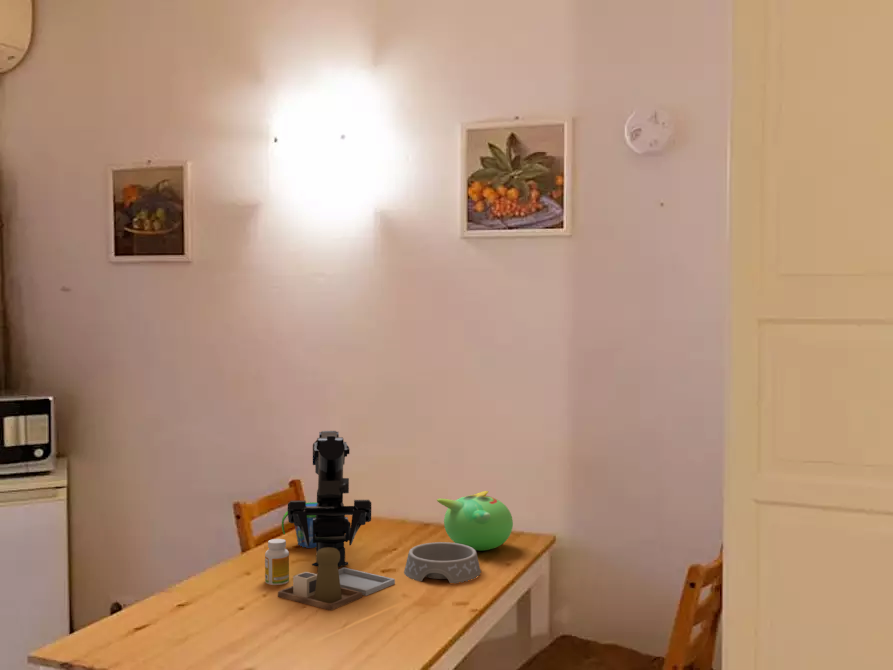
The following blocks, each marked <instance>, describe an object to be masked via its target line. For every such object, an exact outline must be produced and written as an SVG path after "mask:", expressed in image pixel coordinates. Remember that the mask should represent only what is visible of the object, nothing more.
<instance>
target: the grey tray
mask: <svg viewBox="0 0 893 670" xmlns="http://www.w3.org/2000/svg"><path fill="white" fill-rule="evenodd" d="M338 571H339V579H340V587H342V588H346V589H350V590H354V591H358V592H362V596H364V597H365V596H369V595H371V594H374V593H376V592H379V591H381V590H383V589H386V588H388V587H391V586H393V585H395V583H396V579H395V578H393V577H387V576H383V575H379V574H374V573H370V572H367V571H361V570H357V569H352V568H348V567H345V566H342V567H340V568H338Z"/></svg>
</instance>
